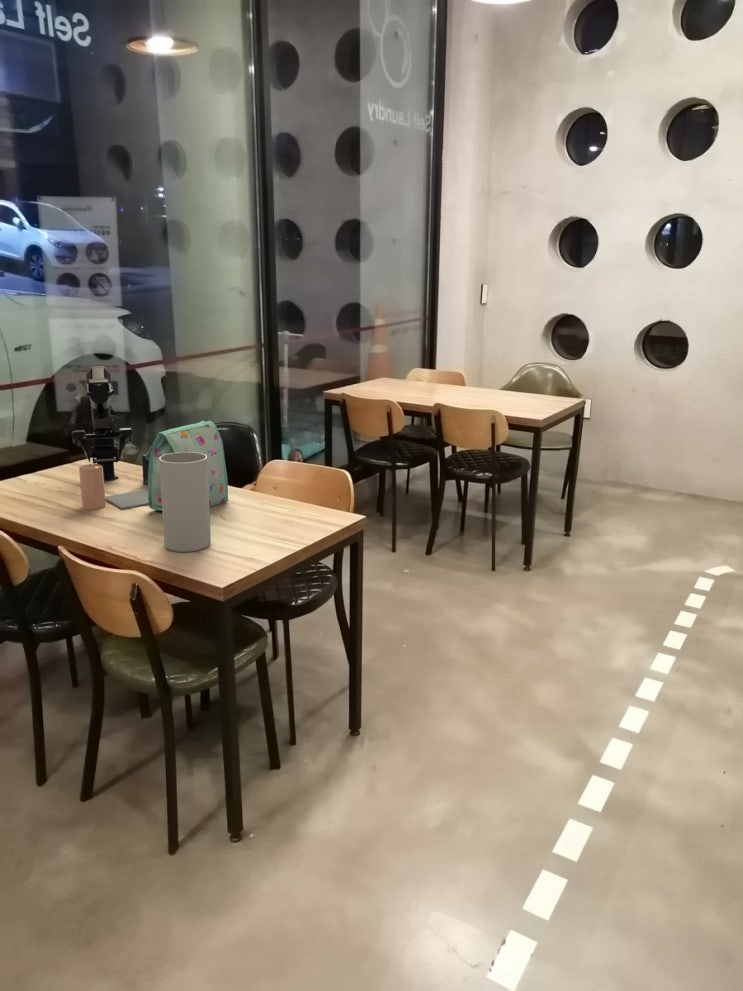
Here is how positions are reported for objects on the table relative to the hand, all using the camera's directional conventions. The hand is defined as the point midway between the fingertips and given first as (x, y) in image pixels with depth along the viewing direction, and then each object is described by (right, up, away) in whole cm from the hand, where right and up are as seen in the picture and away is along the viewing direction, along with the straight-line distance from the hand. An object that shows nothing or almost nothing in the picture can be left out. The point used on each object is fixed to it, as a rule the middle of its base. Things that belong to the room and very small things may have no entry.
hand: (104, 460), depth 250 cm
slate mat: (+9, -13, +3) cm, 16 cm away
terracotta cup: (-2, -15, -4) cm, 15 cm away
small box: (+10, -6, +25) cm, 28 cm away
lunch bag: (+28, -15, -3) cm, 32 cm away
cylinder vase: (+36, -25, -37) cm, 57 cm away
